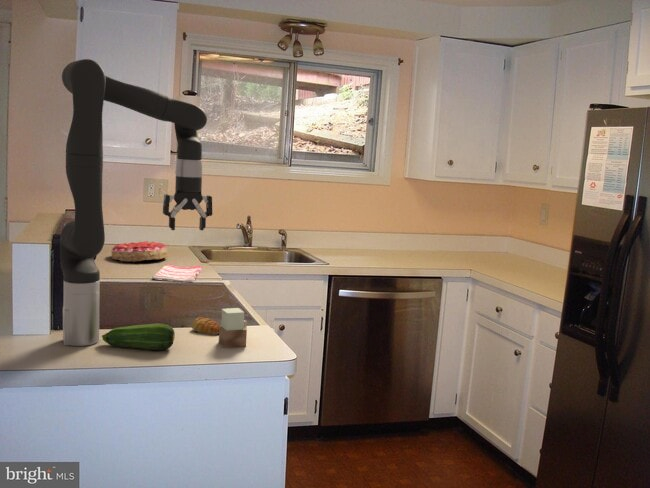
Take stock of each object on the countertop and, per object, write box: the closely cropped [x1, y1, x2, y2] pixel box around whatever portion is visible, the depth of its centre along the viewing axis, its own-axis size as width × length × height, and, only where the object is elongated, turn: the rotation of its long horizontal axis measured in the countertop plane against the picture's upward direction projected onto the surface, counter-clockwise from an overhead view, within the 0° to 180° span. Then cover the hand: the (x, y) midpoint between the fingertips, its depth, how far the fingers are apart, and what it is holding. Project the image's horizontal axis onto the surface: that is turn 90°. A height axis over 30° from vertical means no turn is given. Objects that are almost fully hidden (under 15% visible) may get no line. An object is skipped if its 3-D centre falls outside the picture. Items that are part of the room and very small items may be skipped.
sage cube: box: [220, 307, 245, 331], centre depth 186 cm, size 5×5×5 cm
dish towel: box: [151, 264, 203, 283], centre depth 275 cm, size 17×23×4 cm
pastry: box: [191, 316, 221, 335], centre depth 199 cm, size 9×7×4 cm
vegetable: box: [101, 322, 176, 351], centre depth 179 cm, size 7×7×20 cm
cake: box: [111, 240, 169, 263], centre depth 306 cm, size 25×25×8 cm
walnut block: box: [218, 326, 248, 349], centre depth 187 cm, size 6×6×5 cm
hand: (187, 230), depth 196 cm, fingers open, 8 cm apart
